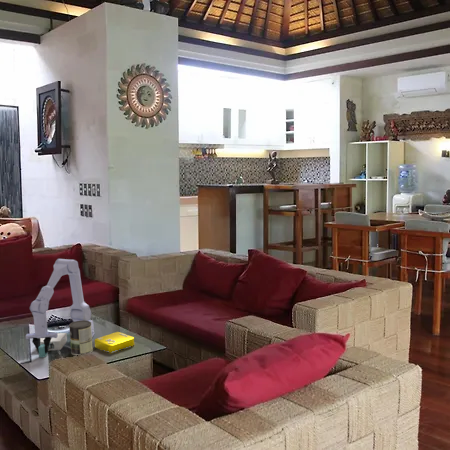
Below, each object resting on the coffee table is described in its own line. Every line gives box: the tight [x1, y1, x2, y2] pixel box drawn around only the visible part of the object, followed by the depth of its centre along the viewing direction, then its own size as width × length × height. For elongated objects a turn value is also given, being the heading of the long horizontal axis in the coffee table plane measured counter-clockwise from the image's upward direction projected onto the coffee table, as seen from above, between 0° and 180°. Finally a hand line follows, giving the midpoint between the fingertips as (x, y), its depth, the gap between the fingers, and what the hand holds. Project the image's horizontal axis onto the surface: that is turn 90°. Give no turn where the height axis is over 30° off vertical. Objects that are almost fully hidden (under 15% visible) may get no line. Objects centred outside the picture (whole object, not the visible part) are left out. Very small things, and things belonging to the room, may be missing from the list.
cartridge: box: [38, 343, 53, 358], centre depth 270 cm, size 14×3×5 cm, turn 0°
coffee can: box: [68, 320, 94, 357], centre depth 268 cm, size 10×10×14 cm
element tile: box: [94, 331, 135, 352], centre depth 275 cm, size 15×15×5 cm
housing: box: [35, 332, 68, 352], centre depth 278 cm, size 12×12×4 cm
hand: (43, 352), depth 265 cm, fingers closed on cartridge, 3 cm apart
